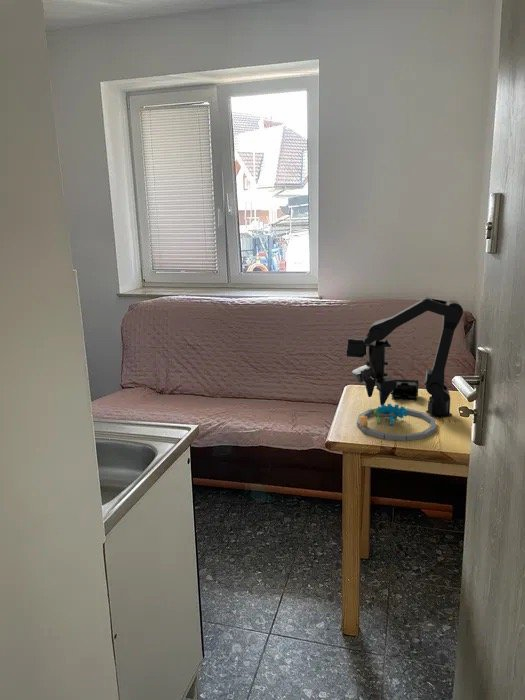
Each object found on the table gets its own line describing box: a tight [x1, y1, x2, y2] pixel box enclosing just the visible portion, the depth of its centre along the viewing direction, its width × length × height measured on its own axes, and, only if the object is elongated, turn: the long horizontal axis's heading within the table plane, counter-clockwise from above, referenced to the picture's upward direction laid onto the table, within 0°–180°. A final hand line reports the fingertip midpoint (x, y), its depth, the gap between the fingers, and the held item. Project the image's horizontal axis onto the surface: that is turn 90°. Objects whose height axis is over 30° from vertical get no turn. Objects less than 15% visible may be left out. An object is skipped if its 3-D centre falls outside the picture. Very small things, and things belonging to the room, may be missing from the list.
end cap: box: [390, 378, 419, 402], centre depth 204 cm, size 10×7×7 cm
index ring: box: [356, 407, 437, 442], centre depth 178 cm, size 26×25×4 cm
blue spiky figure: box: [373, 403, 408, 426], centre depth 180 cm, size 11×6×10 cm
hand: (375, 400), depth 191 cm, fingers open, 9 cm apart
